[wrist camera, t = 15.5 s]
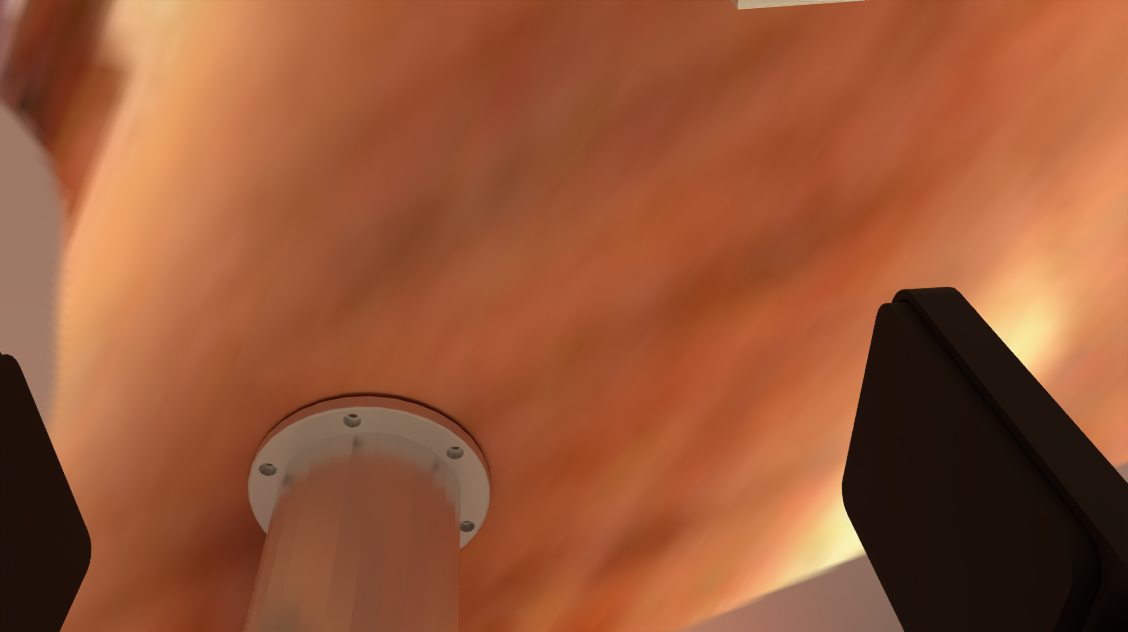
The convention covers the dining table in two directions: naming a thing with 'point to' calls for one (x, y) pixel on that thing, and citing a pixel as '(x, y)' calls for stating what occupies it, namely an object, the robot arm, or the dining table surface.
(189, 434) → the dining table surface
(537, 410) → the dining table surface
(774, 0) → the bin
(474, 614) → the dining table surface
